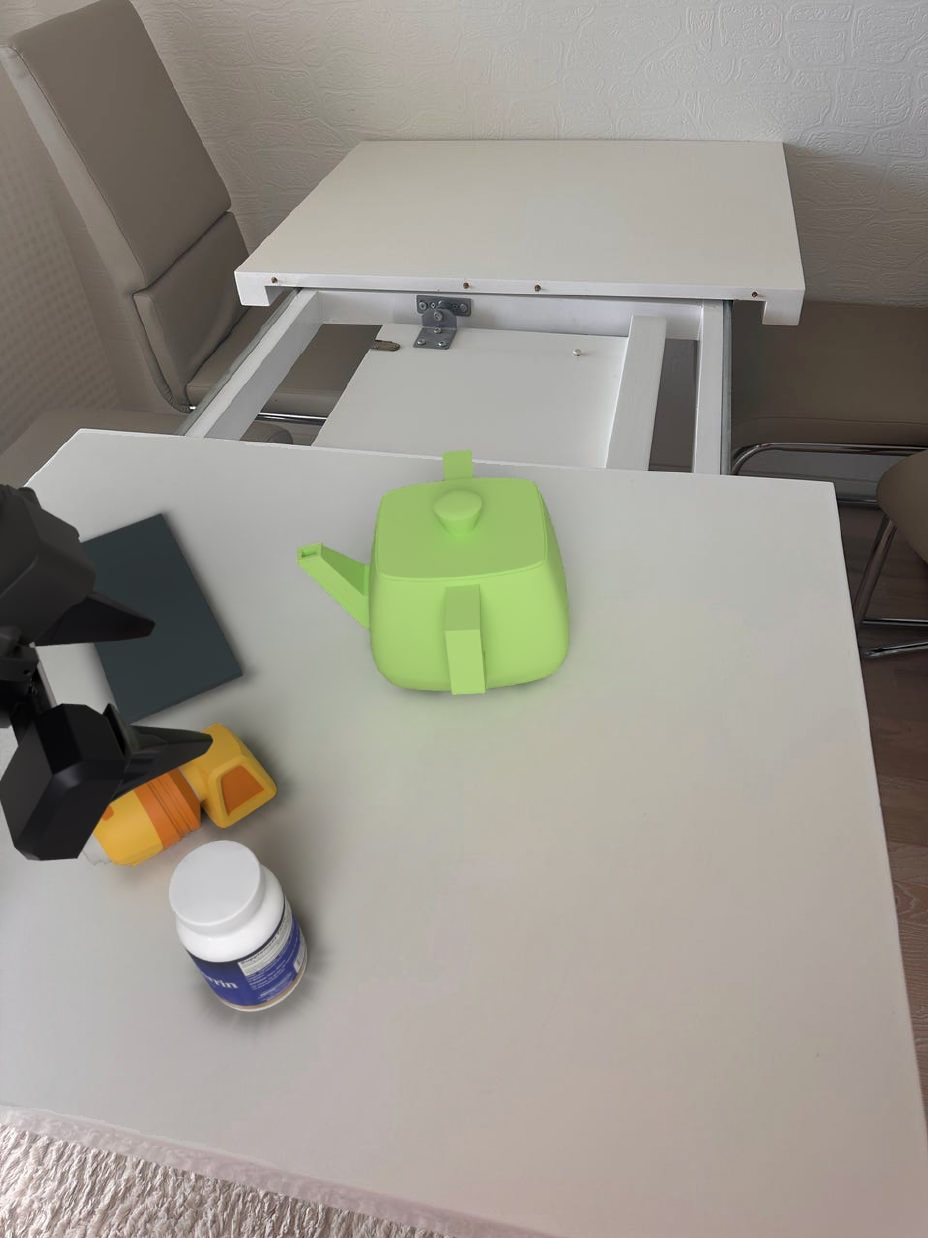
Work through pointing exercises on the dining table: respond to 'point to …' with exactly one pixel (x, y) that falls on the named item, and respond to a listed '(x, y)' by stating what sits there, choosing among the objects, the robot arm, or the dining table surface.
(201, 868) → the pill bottle
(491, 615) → the teapot
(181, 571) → the mat
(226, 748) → the multicoloured piece
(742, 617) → the dining table surface
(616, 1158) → the dining table surface
